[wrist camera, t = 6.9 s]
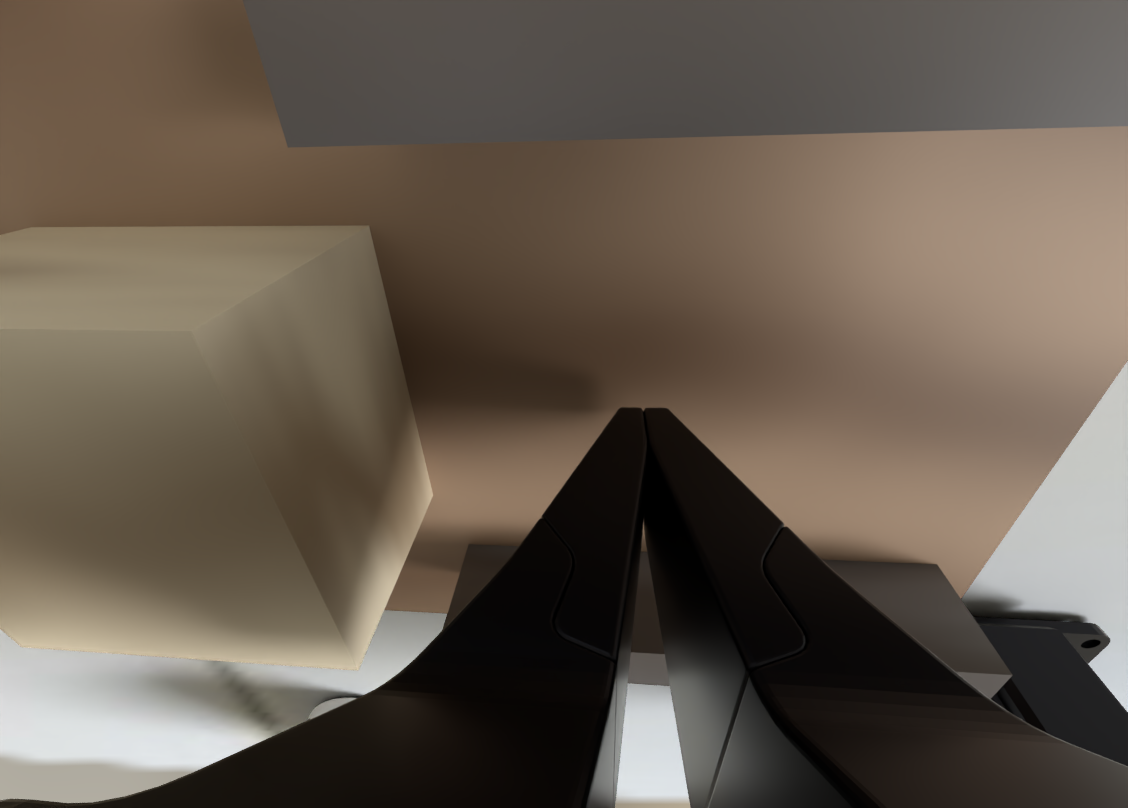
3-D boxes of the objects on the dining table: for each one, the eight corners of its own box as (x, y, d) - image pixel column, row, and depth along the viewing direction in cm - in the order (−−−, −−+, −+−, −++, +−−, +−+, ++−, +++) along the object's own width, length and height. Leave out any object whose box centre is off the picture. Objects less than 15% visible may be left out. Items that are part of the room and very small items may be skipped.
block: (433, 495, 11) (358, 670, 8) (189, 485, 12) (21, 646, 8) (368, 224, 8) (191, 330, 4) (31, 227, 8) (-355, 324, 5)
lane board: (886, 562, 15) (995, 749, 11) (66, 526, 17) (-110, 669, 13) (1269, -170, 6) (2451, -619, 2) (-434, -51, 9) (-1388, -172, 5)
